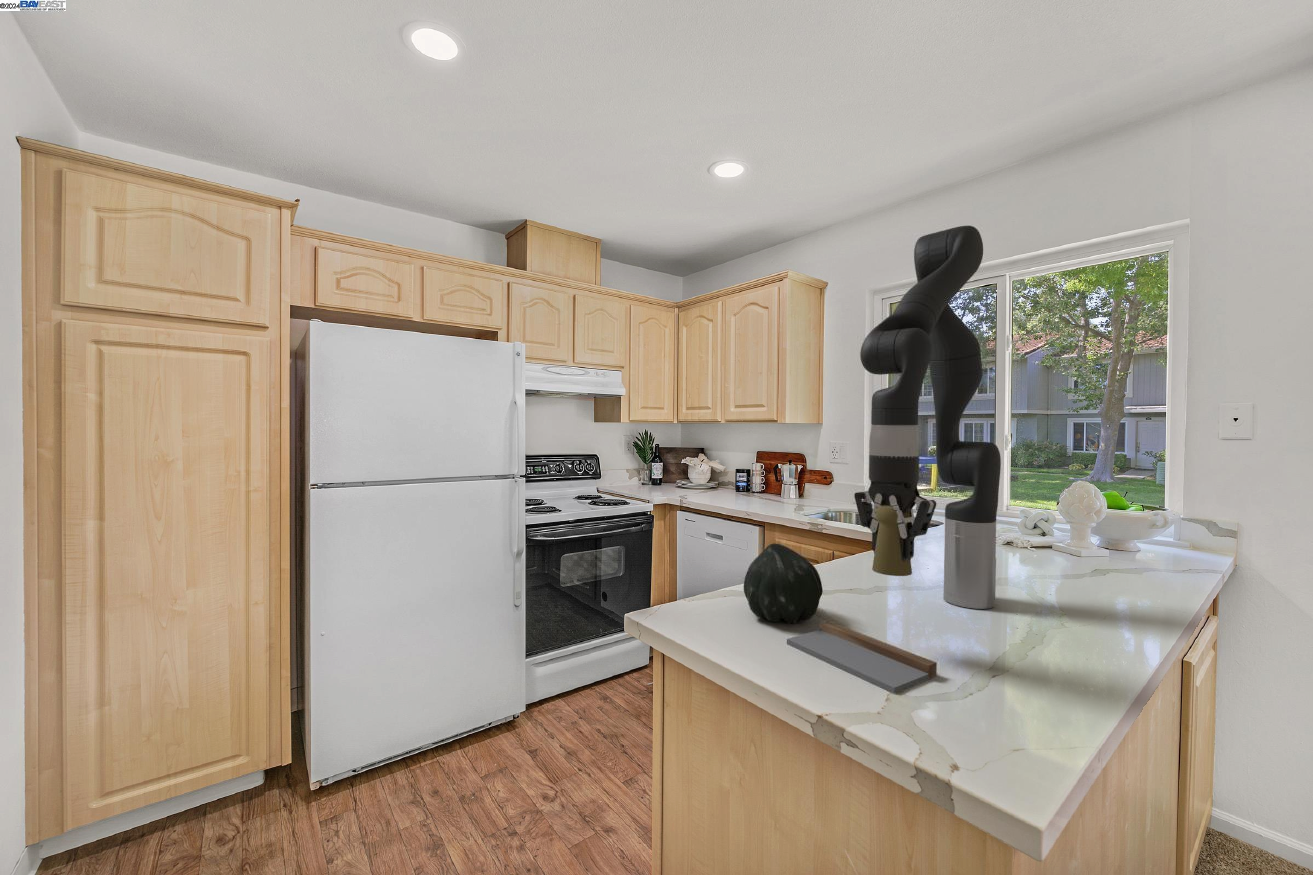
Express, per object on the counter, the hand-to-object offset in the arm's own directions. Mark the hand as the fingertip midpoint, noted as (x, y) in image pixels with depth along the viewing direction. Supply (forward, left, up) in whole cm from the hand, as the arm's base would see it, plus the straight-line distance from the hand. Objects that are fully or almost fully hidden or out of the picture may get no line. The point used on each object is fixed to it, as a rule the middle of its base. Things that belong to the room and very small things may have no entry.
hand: (892, 557), depth 91 cm
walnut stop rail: (+5, 0, -15) cm, 16 cm away
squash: (+5, -20, -15) cm, 26 cm away
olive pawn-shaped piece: (0, 0, -2) cm, 2 cm away
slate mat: (+10, 0, -15) cm, 18 cm away
